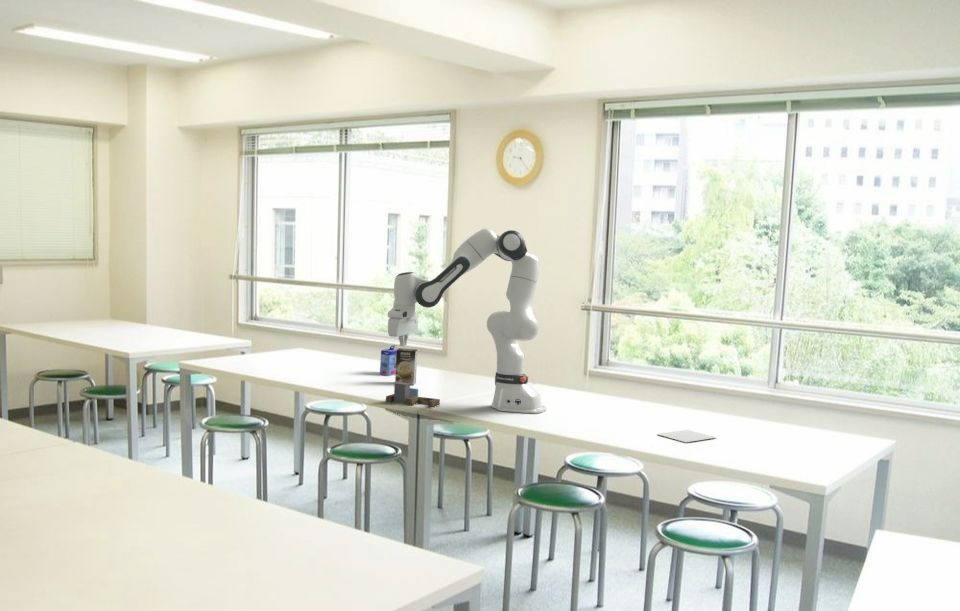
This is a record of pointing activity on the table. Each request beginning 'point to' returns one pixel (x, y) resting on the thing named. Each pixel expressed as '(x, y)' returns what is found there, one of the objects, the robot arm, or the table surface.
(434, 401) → the brown frame
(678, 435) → the paper stack
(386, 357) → the ink cartridge box
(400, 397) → the plug
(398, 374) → the coffee box
